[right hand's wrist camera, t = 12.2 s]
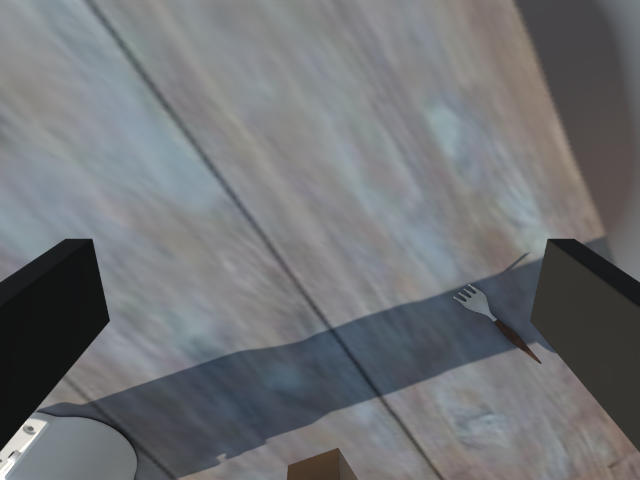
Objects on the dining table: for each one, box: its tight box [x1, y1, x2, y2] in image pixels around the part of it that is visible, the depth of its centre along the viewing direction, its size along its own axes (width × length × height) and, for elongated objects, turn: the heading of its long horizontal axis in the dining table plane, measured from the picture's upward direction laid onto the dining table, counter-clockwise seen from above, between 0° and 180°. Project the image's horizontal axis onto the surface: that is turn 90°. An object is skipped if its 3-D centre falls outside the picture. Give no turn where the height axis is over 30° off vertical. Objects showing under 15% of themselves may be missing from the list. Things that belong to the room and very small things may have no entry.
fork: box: [454, 285, 541, 364], centre depth 50 cm, size 3×16×2 cm, turn 47°
